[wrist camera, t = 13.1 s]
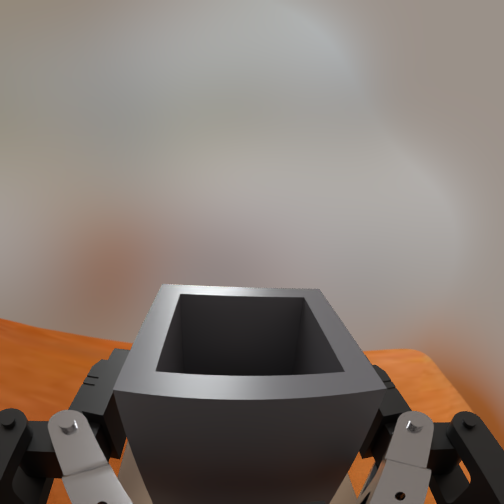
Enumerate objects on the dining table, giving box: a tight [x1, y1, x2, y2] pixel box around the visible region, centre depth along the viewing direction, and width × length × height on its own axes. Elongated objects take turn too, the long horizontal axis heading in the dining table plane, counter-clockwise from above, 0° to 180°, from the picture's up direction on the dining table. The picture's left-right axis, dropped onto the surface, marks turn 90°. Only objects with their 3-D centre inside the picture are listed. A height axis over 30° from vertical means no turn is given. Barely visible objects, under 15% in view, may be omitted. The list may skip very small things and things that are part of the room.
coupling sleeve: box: [113, 284, 387, 504], centre depth 10 cm, size 6×6×10 cm
